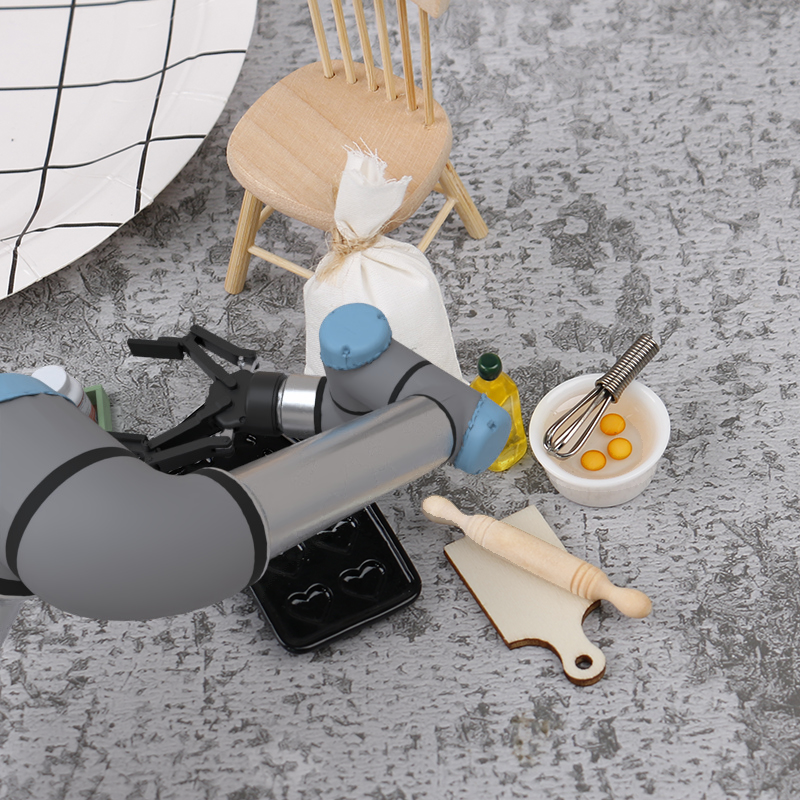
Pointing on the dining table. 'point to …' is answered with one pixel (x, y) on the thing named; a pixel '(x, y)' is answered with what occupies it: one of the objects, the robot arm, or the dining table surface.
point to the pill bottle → (66, 388)
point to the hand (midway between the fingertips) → (113, 391)
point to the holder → (100, 405)
